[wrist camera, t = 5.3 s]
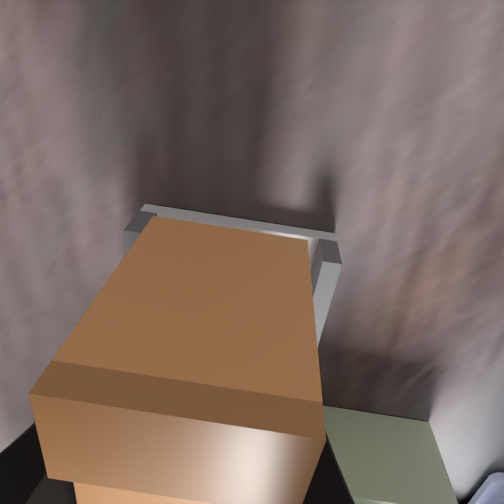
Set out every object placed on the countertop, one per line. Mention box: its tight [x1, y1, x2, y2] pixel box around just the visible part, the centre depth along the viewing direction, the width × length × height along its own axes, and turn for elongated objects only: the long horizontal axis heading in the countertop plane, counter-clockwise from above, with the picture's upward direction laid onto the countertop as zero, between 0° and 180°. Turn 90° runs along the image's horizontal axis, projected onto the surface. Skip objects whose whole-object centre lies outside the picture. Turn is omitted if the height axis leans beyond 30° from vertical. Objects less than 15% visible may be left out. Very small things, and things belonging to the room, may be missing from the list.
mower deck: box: [124, 204, 458, 504], centre depth 16 cm, size 14×18×6 cm
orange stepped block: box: [28, 216, 326, 504], centre depth 10 cm, size 4×8×6 cm, turn 173°
